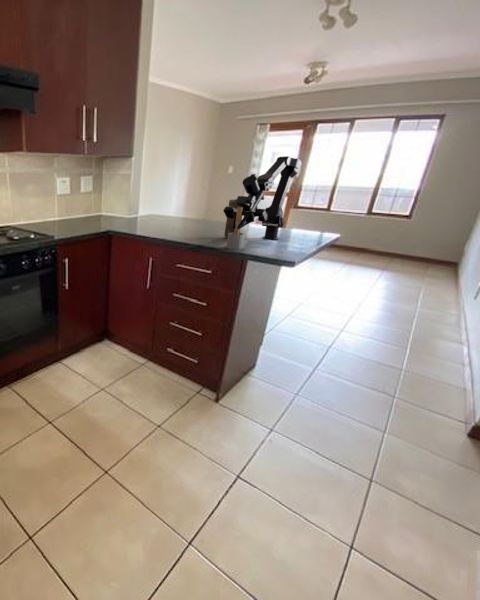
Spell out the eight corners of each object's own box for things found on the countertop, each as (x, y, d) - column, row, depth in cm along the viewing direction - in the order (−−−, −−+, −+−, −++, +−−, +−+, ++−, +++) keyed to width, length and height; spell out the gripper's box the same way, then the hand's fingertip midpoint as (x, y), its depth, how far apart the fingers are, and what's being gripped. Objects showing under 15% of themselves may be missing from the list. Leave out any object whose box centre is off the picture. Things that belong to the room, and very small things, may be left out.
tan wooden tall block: (239, 240, 172) (245, 199, 164) (224, 239, 174) (229, 199, 166) (238, 237, 179) (243, 198, 171) (223, 236, 181) (228, 198, 173)
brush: (231, 245, 157) (236, 206, 150) (239, 246, 155) (244, 206, 149) (230, 247, 154) (235, 207, 147) (238, 247, 153) (244, 207, 146)
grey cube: (227, 246, 159) (229, 232, 157) (243, 247, 156) (245, 232, 154) (225, 249, 154) (227, 234, 151) (241, 251, 151) (243, 235, 148)
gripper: (228, 188, 155) (211, 215, 153) (268, 189, 140) (250, 219, 139) (235, 204, 162) (219, 230, 160) (274, 206, 147) (257, 235, 146)
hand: (235, 228), depth 151 cm, fingers closed on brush, 2 cm apart
